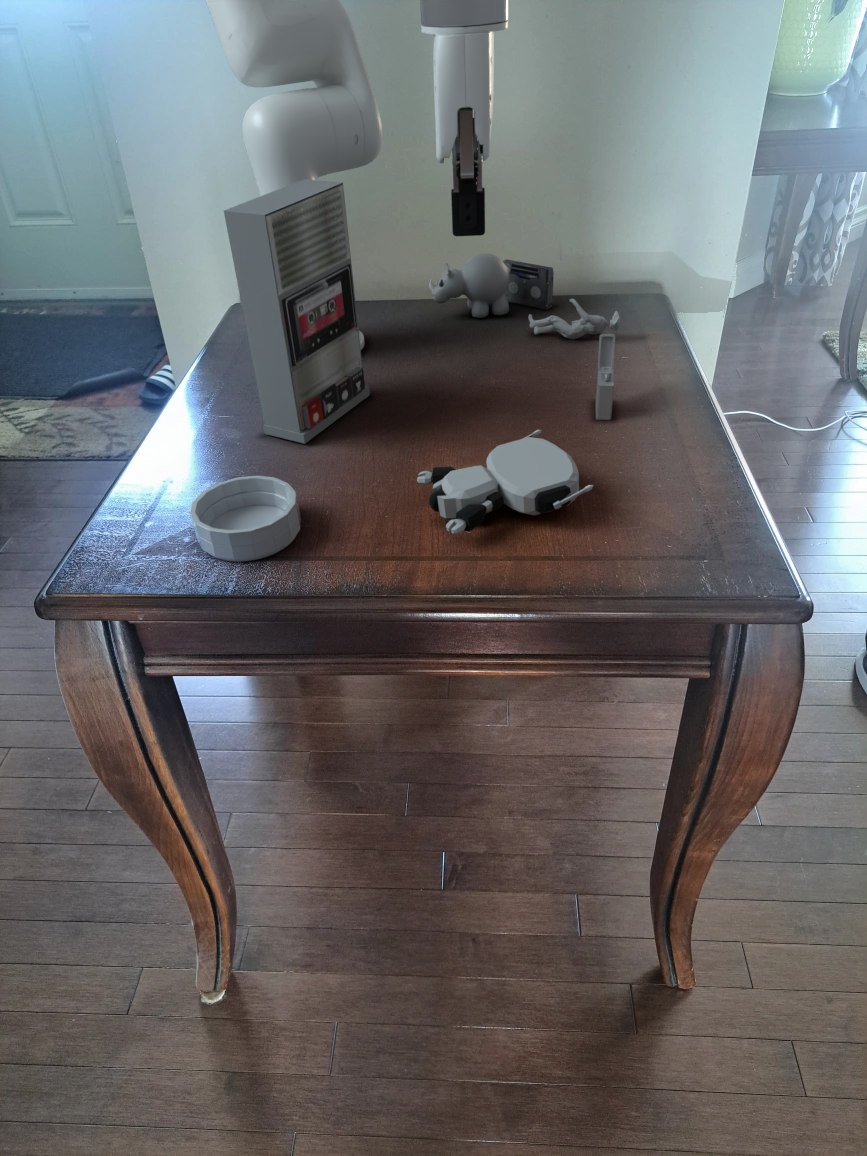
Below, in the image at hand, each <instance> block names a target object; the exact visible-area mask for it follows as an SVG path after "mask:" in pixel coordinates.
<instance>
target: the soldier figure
mask: <svg viewBox="0 0 867 1156" xmlns="http://www.w3.org/2000/svg"><path fill="white" fill-rule="evenodd" d="M569 302H570V303H572V305H573V306H574V307H575V308H576V311H577V313H578V315H579V317H580V318H579V319H575V320H572V321H571V324H569V323H568V322H567V321H566V320H564V319H563V318H561V317H560V316H557V315H553V314H552V315H550V316H547V317H545V318H542V319H537V320H536V319H533V315H532V314H531V313H529V314H528V316H527V317H528V321H529V329H533V334H534V335H535V336H536V335H539V334H541V333H542V334H543V333H552V332H555V331H556V332H557V333H559V335H562V336H563V337H564V338H566V339H569V340H576V339H579V338H581V337H583V336H584V335H586V334H590V335H591V336H596V335H601V334H603V332H604V331H605V330H606V328H607V327H609V328H610V330H614V331H615V333H618V331H619V330H620V327H621V317H620V314H619V312H618V310H615V312H614V314H613V315H612V314H610V315H609V317H611V318H610V319H606V318H605V317H604V316H602V315H601V316H600V315H598V314H593V315H591V314H589V313H587V312H586V311H585V310H584V309H583V308H582V307H581V305H580V304H579V302H577V300H576V299H574V298H570V299H569Z"/></svg>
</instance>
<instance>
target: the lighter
mask: <svg viewBox="0 0 867 1156" xmlns="http://www.w3.org/2000/svg"><path fill="white" fill-rule="evenodd" d="M598 339H599V341H598V355H597V357H598V358H597V370H598V371H597V380H596V392H595V405H594V406H595V419H596V420H598V421H599V420H600V421H602V420H603V421H610V420H612V412H613V403H614V402H613V400H614V392H615V391H614V390H615V380H614V379H615V378H614V360H615V345H616V334H615V333H600V334H599V338H598Z"/></svg>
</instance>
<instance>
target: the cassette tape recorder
mask: <svg viewBox="0 0 867 1156" xmlns="http://www.w3.org/2000/svg"><path fill="white" fill-rule="evenodd" d="M317 180H318V179H317ZM317 180H305V179H304V180H302V181H299V182H296V183H294V184H291V185H289V186H286V187H283V188H281V189H278V190H276V191H273V192H270V193H268V194H265V195H263V196H260V195H259V196H257V197H255V198H253V199H250V200H247V201H245V202H242V203H240V204H237V205H234V206H232V207H229V208H227V209H224V210H223V214H224V220H225V224H226V225H225V226H226V232H227V236H228V241H229V247H230V251H231V256H232V257H231V258H232V260H233V261H232V262H233V267H234V272H235V277H236V283H237V289H238V293H239V298H240V305H241V309H242V315H243V319H244V324H245V330H246V335H247V341H248V345H249V351H250V356H251V361H252V366H253V371H254V376H255V377H254V378H255V382H256V388H257V393H258V397H259V402H260V407H261V414H262V418H263V423H264V424H262V426H263V427H262V428H263V432H264V435H268V436H272V437H276V438H280V439H284V440H289V441H293V442H296V443H300V444H304V445H305V444H307V443H308V442H310V440H312V439H313V438H315V437H316V436H317V435H319V434H320V433H321V432H323V431H324V430H325V429H326V428H328V427H329V426H330V425H332V424H333V423H335V422H336V421H337V420H338V419H340V418H341V417H343V416H344V415H346V414H347V413H349V412H350V411H351V410H352V409H353V408H354V407H356V406H357V405H359V404H360V403H362V402H363V401H364V400H365V399H367V398H368V397H369V396H371V392H370V390H371V389H370V386H369V385H366V384H365V374H364V368H363V359H362V350H361V349H360V339H359V331H360V330H359V323H358V322H359V321H358V320H359V319H358V312H357V303H356V301H357V300H356V292H355V284H354V273H353V265H352V254H351V245H350V237H349V235H350V234H349V228H348V227H349V225H348V217H347V208H346V199H345V198H346V197H345V188H344V183H343V182H338V181H327V180H318V181H317Z"/></svg>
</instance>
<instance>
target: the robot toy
mask: <svg viewBox="0 0 867 1156" xmlns="http://www.w3.org/2000/svg"><path fill="white" fill-rule="evenodd" d="M541 432H542V429H536V430H535V431H533V432H532V433H530V434H529V435H527V436H525V437H523V438H520V439H517V440H513V441H509V442H506V443H503V444H498V445H497V446H495V447H494V449H492V450H491V451H490V452H489V453H488V456H487V457H486V467H485V466H483V465H481V464H480V465H473V466H468V467H463V468H457V469H456V468H455V467H453V466H433V468H432V472H431V471H429V470H423V471H420V472H419V473H418V474H417V478H416V481H417V483H418V485H423V486H427V485H429V484H433V485H432V493H431V494H430V496H429V499H428V500H429V501H428V504H429V507H430V508H431V510H433V511H434V512H436V513H439V517H442V518H444V519H450V520H448V522H447V523H446V525H445V529H446V531H447V532H451V534H453V535H459V534H462V533H463V532H464V531H465V532H471V531H472V530H474V529H475V528H477V527H478V526H480V525H481V524H483V522H484V519H485V518H486V514H488V513H490V512H493V511H497V510H499V509H500V508H502V507H503V506H504V505H506V506H507V507H509V509H512V510H515V511H516V512H518V513H519V514H524V515H525V514H526V515H530V516H538V515H541V514H545V513H550V512H552V511H556V510H559V509H562V508H566V507H568V506H570V504H572V503H573V502H574V501H575V500H576V499H577V498H578V496H581V495H582V494H584V493H588V492H589V491H592V490H593V487H594V484H588V485H585V487H584V488H582V489H580V474H579V470H578V467H577V464H576V463H575V461H574V460H573V457H572V456H571V455H570V454H569V453H567V452H566V451H565V450H563V449H562V448H560V447H559V446H558V445H556V444H554V443H552V442H551V441H548V440H546V439H544V438H539V437H537V436H539V435H540V434H541Z"/></svg>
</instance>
